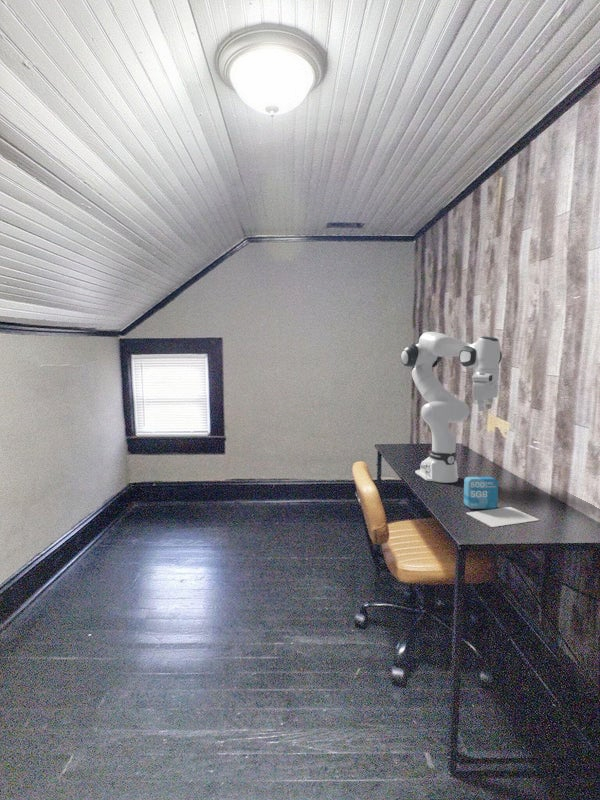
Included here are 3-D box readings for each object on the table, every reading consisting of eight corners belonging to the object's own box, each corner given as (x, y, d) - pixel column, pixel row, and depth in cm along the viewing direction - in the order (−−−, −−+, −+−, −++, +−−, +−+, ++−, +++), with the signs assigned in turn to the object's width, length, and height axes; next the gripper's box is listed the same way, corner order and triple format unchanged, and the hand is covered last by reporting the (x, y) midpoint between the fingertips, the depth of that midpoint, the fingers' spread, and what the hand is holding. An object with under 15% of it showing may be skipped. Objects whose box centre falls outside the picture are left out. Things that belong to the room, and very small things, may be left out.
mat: (465, 513, 165) (465, 512, 165) (510, 507, 172) (510, 506, 172) (492, 527, 152) (492, 526, 152) (539, 520, 159) (539, 519, 159)
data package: (468, 509, 169) (468, 479, 169) (463, 505, 174) (463, 476, 173) (497, 508, 170) (498, 479, 169) (492, 505, 174) (492, 476, 174)
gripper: (487, 375, 184) (485, 406, 186) (470, 376, 169) (468, 411, 171) (502, 375, 180) (500, 408, 182) (486, 377, 165) (484, 412, 167)
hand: (484, 409), depth 176 cm, fingers open, 8 cm apart
